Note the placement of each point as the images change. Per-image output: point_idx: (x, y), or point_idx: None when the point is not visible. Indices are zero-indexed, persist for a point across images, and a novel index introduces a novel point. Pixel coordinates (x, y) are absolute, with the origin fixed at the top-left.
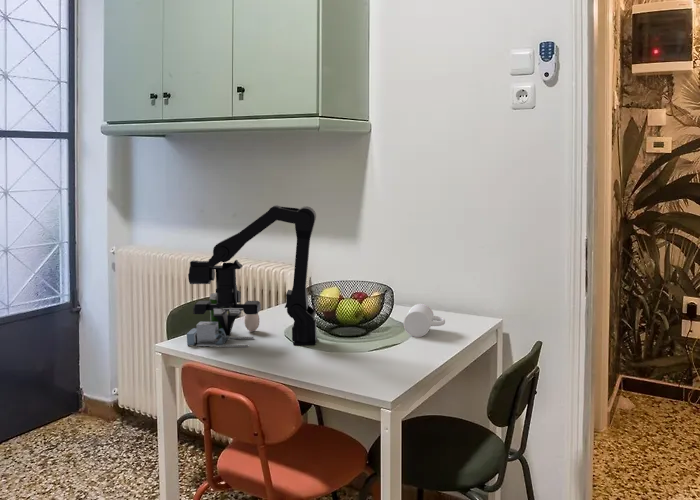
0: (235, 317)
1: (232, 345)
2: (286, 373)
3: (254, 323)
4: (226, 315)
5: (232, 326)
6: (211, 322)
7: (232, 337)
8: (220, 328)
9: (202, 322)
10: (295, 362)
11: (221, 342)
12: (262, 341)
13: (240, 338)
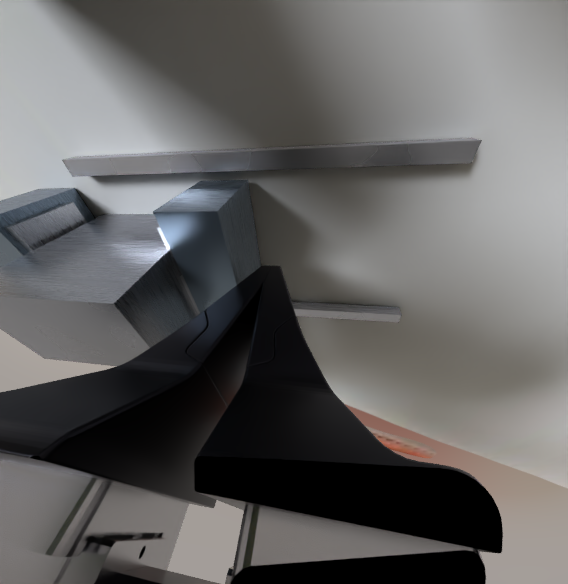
0: (324, 394)
1: (318, 315)
2: (473, 447)
3: None
4: (184, 416)
5: (292, 309)
6: (80, 322)
7: (278, 168)
8: (157, 221)
9: (8, 317)
10: (539, 423)
11: None
12: (526, 215)
13: (346, 164)
